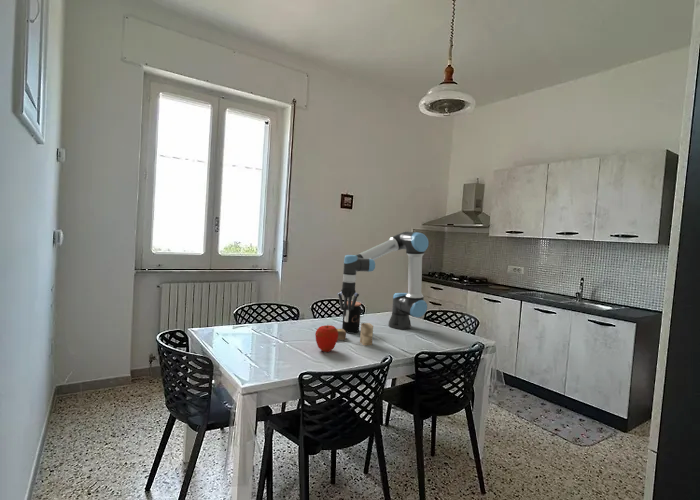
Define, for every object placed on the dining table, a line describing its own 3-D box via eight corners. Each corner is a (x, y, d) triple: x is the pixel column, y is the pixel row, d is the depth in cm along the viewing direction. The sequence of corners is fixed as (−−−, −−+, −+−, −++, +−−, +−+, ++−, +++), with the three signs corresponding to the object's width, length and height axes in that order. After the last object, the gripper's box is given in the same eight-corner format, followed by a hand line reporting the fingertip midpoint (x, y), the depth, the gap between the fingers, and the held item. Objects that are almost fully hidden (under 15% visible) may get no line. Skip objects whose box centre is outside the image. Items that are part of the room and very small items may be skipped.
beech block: (368, 341, 227) (369, 323, 226) (372, 345, 221) (373, 325, 220) (359, 342, 225) (361, 323, 224) (363, 345, 219) (364, 326, 219)
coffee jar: (352, 334, 239) (354, 305, 238) (338, 330, 245) (340, 302, 244) (362, 331, 247) (364, 303, 246) (348, 327, 254) (350, 300, 253)
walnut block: (343, 328, 233) (325, 328, 230) (346, 331, 227) (327, 331, 224) (342, 337, 233) (324, 337, 230) (345, 340, 228) (327, 340, 224)
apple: (325, 345, 214) (327, 320, 213) (342, 351, 206) (344, 324, 205) (309, 350, 204) (311, 323, 204) (326, 356, 197) (328, 328, 196)
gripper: (357, 280, 234) (354, 319, 236) (336, 280, 230) (333, 319, 232) (361, 282, 227) (358, 323, 228) (340, 282, 223) (337, 323, 224)
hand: (346, 321), depth 230 cm, fingers closed
